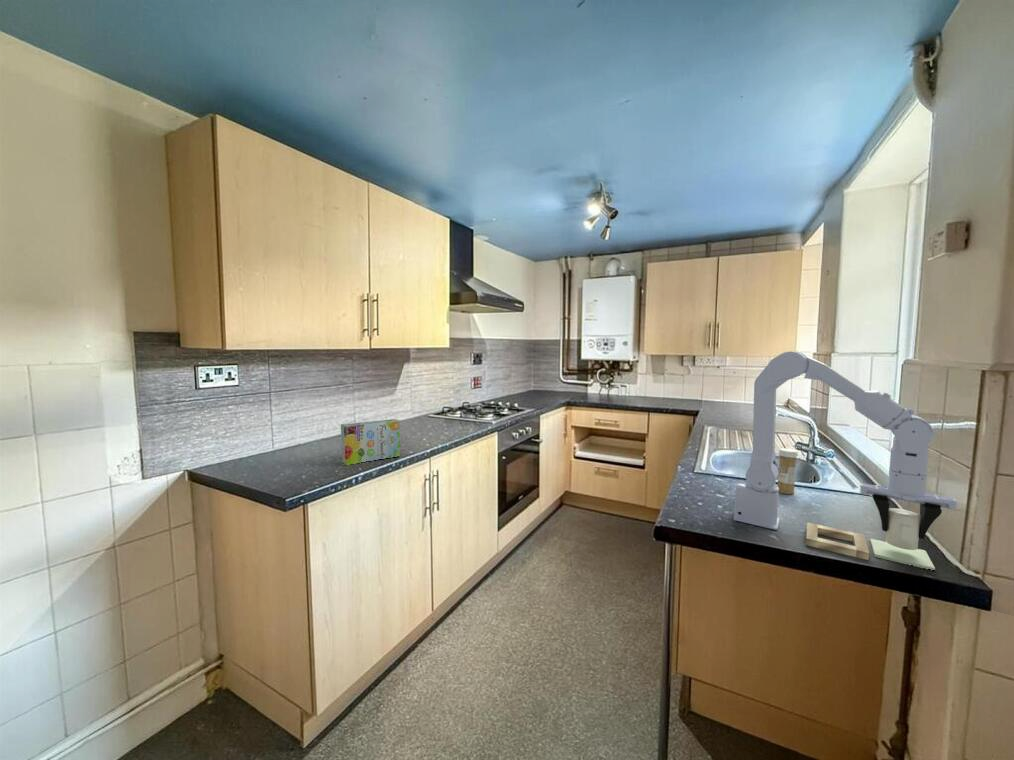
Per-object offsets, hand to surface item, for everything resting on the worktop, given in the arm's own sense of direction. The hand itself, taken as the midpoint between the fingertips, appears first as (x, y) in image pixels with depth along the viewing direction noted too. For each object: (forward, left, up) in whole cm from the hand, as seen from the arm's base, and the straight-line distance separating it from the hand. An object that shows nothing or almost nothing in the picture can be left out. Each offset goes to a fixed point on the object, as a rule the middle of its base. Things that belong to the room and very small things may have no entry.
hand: (902, 533), depth 87 cm
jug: (0, 0, -2) cm, 2 cm away
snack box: (-152, -28, -5) cm, 155 cm away
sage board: (0, 0, -5) cm, 5 cm away
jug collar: (-11, -2, -5) cm, 12 cm away
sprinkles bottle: (-22, +31, -5) cm, 38 cm away
